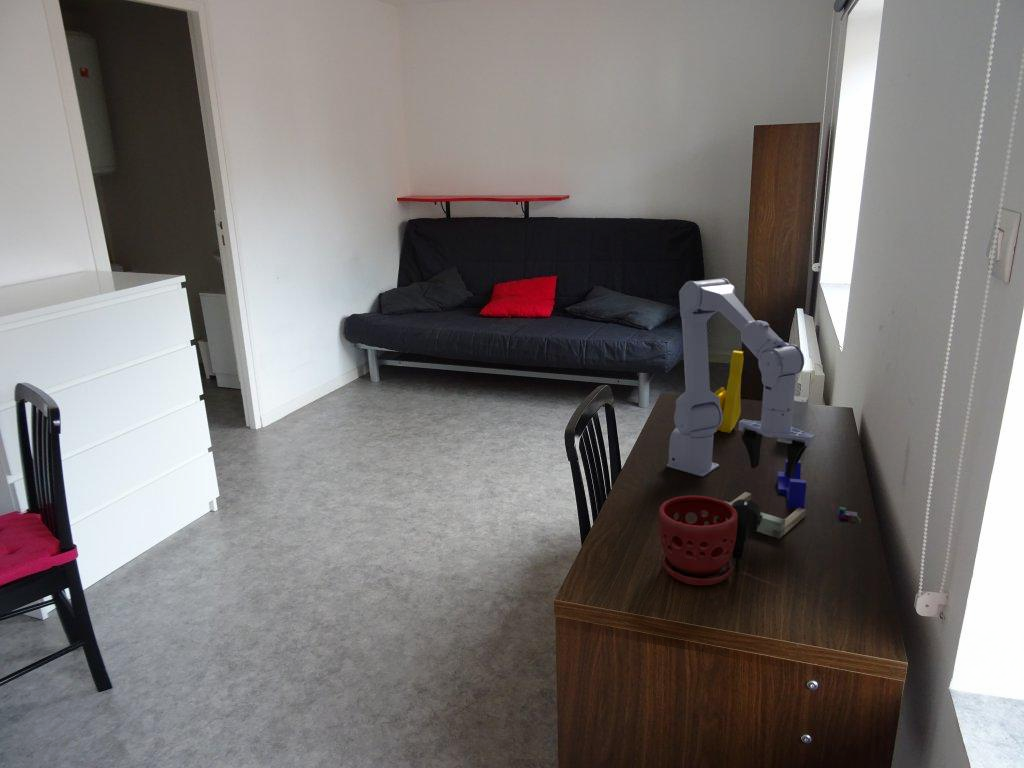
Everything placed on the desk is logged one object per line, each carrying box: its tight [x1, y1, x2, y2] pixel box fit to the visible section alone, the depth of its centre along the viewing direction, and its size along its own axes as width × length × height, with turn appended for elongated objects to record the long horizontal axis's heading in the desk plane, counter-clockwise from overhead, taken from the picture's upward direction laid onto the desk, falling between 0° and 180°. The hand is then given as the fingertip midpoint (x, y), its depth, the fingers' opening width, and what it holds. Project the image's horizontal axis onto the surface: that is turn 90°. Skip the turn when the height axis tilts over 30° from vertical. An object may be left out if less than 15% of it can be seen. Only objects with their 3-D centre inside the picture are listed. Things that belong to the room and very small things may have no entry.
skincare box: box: [777, 395, 810, 445], centre depth 180 cm, size 6×4×12 cm
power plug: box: [731, 499, 763, 573], centre depth 126 cm, size 6×8×12 cm
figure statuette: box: [713, 350, 745, 434], centre depth 188 cm, size 18×8×22 cm, turn 155°
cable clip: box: [776, 458, 807, 509], centre depth 153 cm, size 12×4×6 cm, turn 164°
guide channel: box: [723, 491, 806, 539], centre depth 144 cm, size 13×12×3 cm
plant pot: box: [658, 495, 738, 586], centre depth 124 cm, size 13×13×12 cm
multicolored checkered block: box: [838, 506, 862, 524], centre depth 142 cm, size 4×3×2 cm, turn 66°
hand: (772, 471), depth 144 cm, fingers open, 7 cm apart
